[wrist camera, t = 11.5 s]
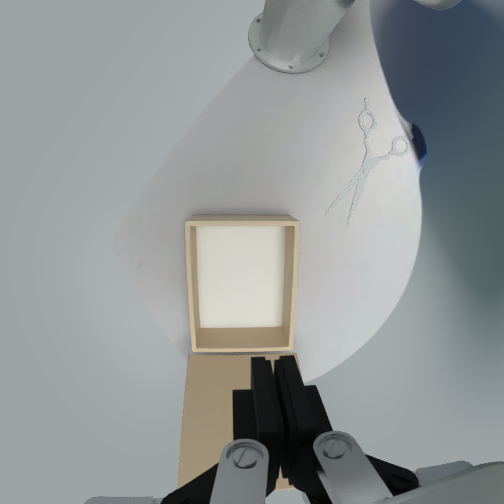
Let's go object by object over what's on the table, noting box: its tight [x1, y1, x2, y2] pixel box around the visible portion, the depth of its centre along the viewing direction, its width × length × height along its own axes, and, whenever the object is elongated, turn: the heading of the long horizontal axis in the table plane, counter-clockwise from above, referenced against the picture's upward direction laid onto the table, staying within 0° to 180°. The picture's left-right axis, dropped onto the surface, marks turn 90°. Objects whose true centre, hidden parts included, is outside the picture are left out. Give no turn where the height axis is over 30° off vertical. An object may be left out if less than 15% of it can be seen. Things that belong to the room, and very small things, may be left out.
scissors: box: [326, 98, 409, 225], centre depth 43 cm, size 11×1×20 cm
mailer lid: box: [177, 353, 302, 491], centre depth 32 cm, size 20×15×1 cm
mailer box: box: [185, 215, 300, 352], centre depth 42 cm, size 18×14×7 cm
